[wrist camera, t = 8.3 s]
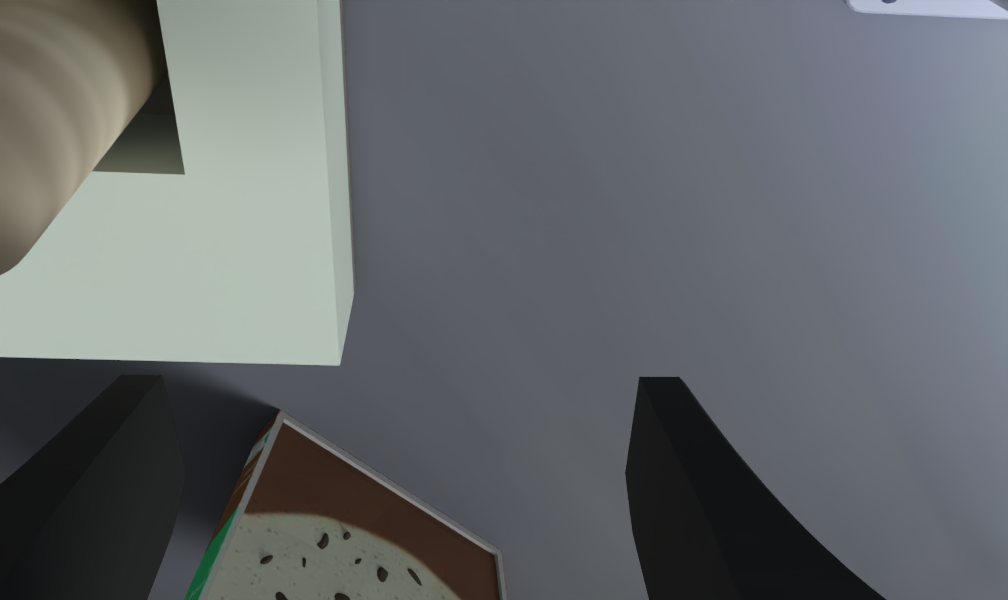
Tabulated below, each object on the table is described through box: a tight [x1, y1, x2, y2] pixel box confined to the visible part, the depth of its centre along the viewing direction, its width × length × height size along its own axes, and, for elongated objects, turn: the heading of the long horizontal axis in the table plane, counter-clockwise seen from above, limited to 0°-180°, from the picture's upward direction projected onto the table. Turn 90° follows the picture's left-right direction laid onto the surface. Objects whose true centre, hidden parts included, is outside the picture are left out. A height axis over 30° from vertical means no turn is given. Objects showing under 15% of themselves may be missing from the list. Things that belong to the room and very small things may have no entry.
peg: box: [0, 0, 168, 275], centre depth 16 cm, size 3×3×8 cm
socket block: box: [0, 0, 356, 365], centre depth 18 cm, size 10×14×4 cm
